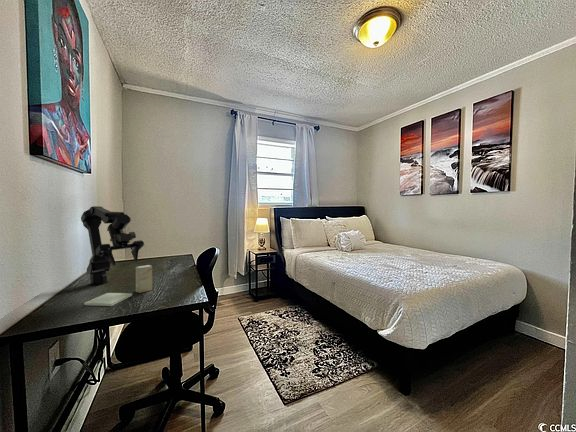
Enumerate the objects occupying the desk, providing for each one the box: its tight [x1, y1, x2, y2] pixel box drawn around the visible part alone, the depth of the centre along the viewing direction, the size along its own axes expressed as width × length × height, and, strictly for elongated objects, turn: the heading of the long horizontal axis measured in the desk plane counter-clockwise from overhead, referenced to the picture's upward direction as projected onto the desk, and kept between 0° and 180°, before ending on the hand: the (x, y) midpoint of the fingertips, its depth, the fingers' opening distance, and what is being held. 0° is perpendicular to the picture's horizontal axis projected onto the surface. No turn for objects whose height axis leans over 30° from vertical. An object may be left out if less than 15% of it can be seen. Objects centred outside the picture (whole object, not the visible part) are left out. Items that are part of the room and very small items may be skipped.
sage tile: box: [83, 292, 133, 307], centre depth 105 cm, size 12×12×1 cm
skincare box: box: [135, 264, 153, 294], centre depth 118 cm, size 6×4×12 cm
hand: (126, 263), depth 112 cm, fingers open, 9 cm apart
